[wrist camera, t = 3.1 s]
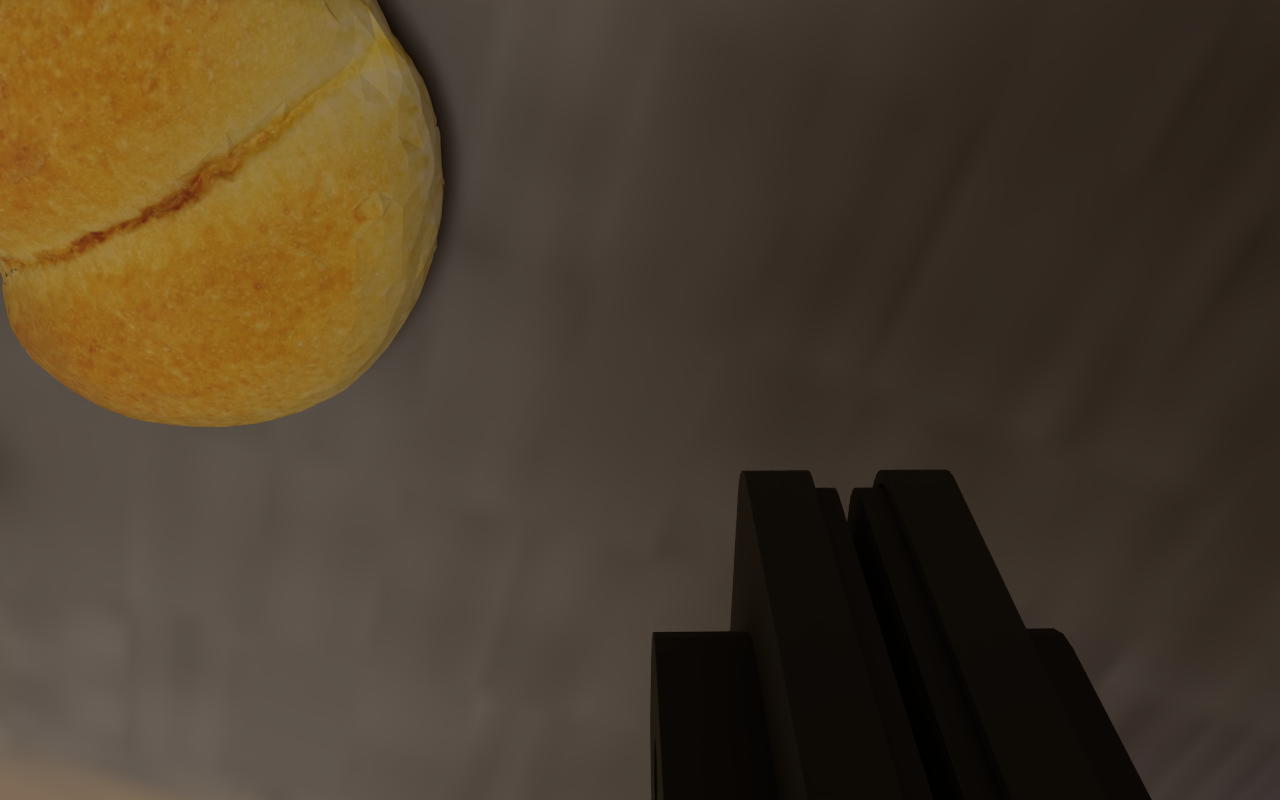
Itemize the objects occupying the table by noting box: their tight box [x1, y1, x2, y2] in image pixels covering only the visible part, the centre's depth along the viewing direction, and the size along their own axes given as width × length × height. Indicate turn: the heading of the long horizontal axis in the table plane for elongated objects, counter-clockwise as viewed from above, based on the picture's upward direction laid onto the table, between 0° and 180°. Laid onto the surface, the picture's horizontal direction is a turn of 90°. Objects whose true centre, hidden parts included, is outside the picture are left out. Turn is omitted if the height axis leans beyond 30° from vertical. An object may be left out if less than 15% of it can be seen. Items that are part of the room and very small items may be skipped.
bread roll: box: [0, 0, 445, 427], centre depth 19 cm, size 8×9×4 cm
